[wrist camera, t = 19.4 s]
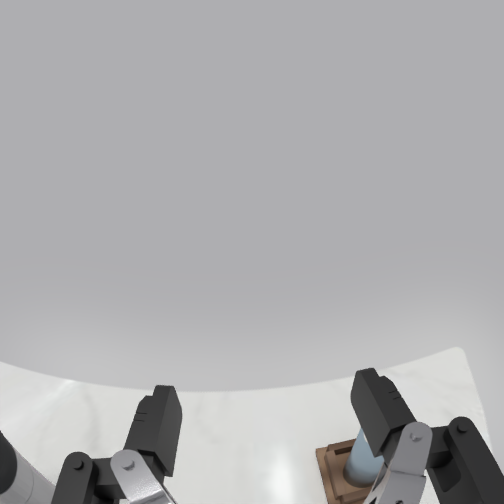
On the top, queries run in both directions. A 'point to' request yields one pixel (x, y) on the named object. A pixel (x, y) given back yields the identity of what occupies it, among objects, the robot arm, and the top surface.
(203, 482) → the top surface
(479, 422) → the top surface
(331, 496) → the tray
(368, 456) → the candle jar
